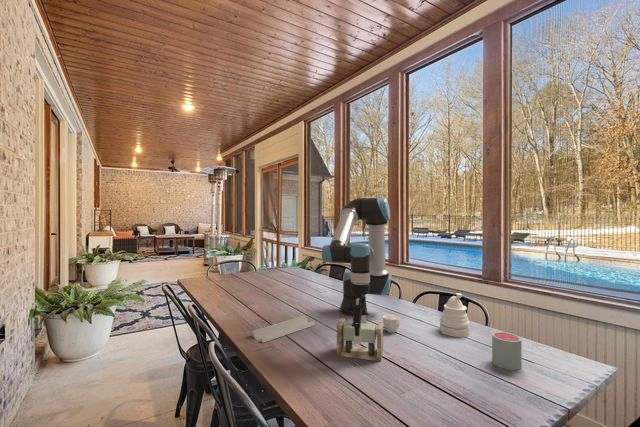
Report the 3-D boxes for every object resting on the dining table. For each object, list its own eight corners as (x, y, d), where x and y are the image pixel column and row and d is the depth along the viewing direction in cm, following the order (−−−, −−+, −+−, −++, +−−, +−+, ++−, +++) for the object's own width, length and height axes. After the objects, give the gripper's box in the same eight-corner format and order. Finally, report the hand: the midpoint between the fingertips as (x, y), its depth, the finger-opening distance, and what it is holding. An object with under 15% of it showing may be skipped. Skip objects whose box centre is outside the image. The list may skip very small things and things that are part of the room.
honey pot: (469, 329, 150) (469, 291, 150) (470, 339, 139) (470, 298, 139) (441, 325, 156) (441, 289, 156) (439, 334, 144) (439, 295, 144)
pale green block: (376, 337, 125) (376, 324, 125) (374, 343, 119) (374, 330, 119) (346, 334, 128) (346, 322, 128) (343, 340, 122) (343, 327, 122)
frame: (382, 352, 125) (382, 322, 125) (381, 361, 117) (381, 329, 117) (341, 347, 130) (341, 318, 130) (336, 355, 122) (336, 324, 122)
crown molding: (262, 345, 134) (262, 336, 134) (247, 337, 142) (247, 329, 142) (315, 326, 156) (315, 319, 156) (299, 320, 164) (299, 313, 164)
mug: (521, 372, 109) (521, 343, 109) (491, 365, 114) (491, 338, 114) (521, 357, 121) (521, 331, 121) (493, 351, 126) (493, 326, 126)
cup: (380, 331, 147) (380, 317, 147) (388, 325, 155) (388, 312, 155) (395, 335, 142) (395, 320, 142) (403, 329, 150) (403, 315, 150)
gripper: (355, 276, 136) (355, 325, 136) (344, 289, 113) (344, 348, 113) (373, 277, 134) (373, 327, 134) (365, 290, 111) (365, 351, 111)
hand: (360, 337), depth 124 cm, fingers open, 12 cm apart
